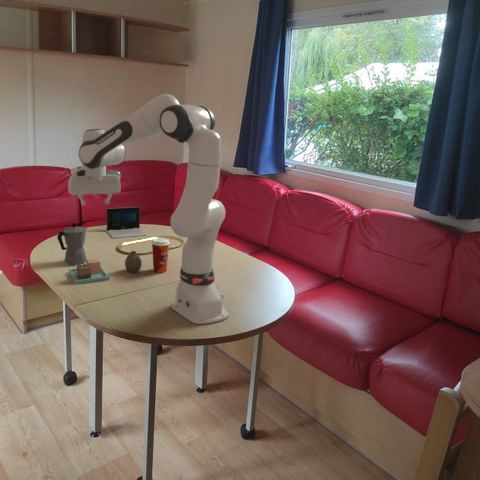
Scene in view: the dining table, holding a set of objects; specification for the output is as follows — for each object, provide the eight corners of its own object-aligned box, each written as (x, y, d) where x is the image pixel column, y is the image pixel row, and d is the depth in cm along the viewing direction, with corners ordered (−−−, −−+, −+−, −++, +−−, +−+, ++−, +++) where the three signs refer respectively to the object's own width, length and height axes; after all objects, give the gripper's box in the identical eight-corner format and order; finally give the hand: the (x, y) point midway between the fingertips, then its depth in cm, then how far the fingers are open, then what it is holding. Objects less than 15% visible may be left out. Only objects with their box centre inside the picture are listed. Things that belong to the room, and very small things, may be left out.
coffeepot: (79, 256, 219) (78, 217, 213) (94, 260, 215) (93, 221, 209) (51, 265, 206) (49, 224, 201) (67, 270, 202) (65, 229, 196)
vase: (144, 269, 208) (144, 250, 205) (136, 275, 202) (136, 255, 199) (129, 267, 210) (129, 248, 207) (122, 272, 203) (121, 253, 201)
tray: (108, 279, 195) (108, 276, 194) (75, 284, 189) (75, 280, 188) (100, 269, 206) (100, 265, 205) (69, 272, 199) (69, 269, 199)
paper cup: (165, 274, 204) (166, 243, 200) (148, 272, 206) (148, 241, 201) (171, 268, 212) (172, 238, 207) (155, 266, 213) (155, 236, 209)
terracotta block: (97, 269, 203) (97, 258, 202) (100, 273, 199) (100, 262, 198) (86, 270, 201) (86, 259, 199) (89, 274, 197) (89, 263, 196)
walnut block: (91, 279, 193) (90, 267, 191) (79, 280, 191) (79, 269, 189) (88, 275, 197) (88, 263, 195) (77, 276, 194) (76, 265, 193)
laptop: (112, 239, 247) (112, 214, 243) (106, 232, 257) (106, 208, 253) (146, 236, 255) (146, 212, 251) (139, 229, 265) (139, 206, 262)
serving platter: (110, 247, 234) (110, 244, 234) (169, 236, 258) (169, 233, 257) (131, 258, 221) (131, 255, 221) (191, 245, 245) (191, 242, 245)
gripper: (118, 168, 198) (118, 201, 202) (66, 169, 188) (67, 204, 192) (122, 171, 193) (123, 204, 197) (69, 172, 183) (71, 207, 187)
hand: (95, 204), depth 194 cm, fingers open, 8 cm apart
